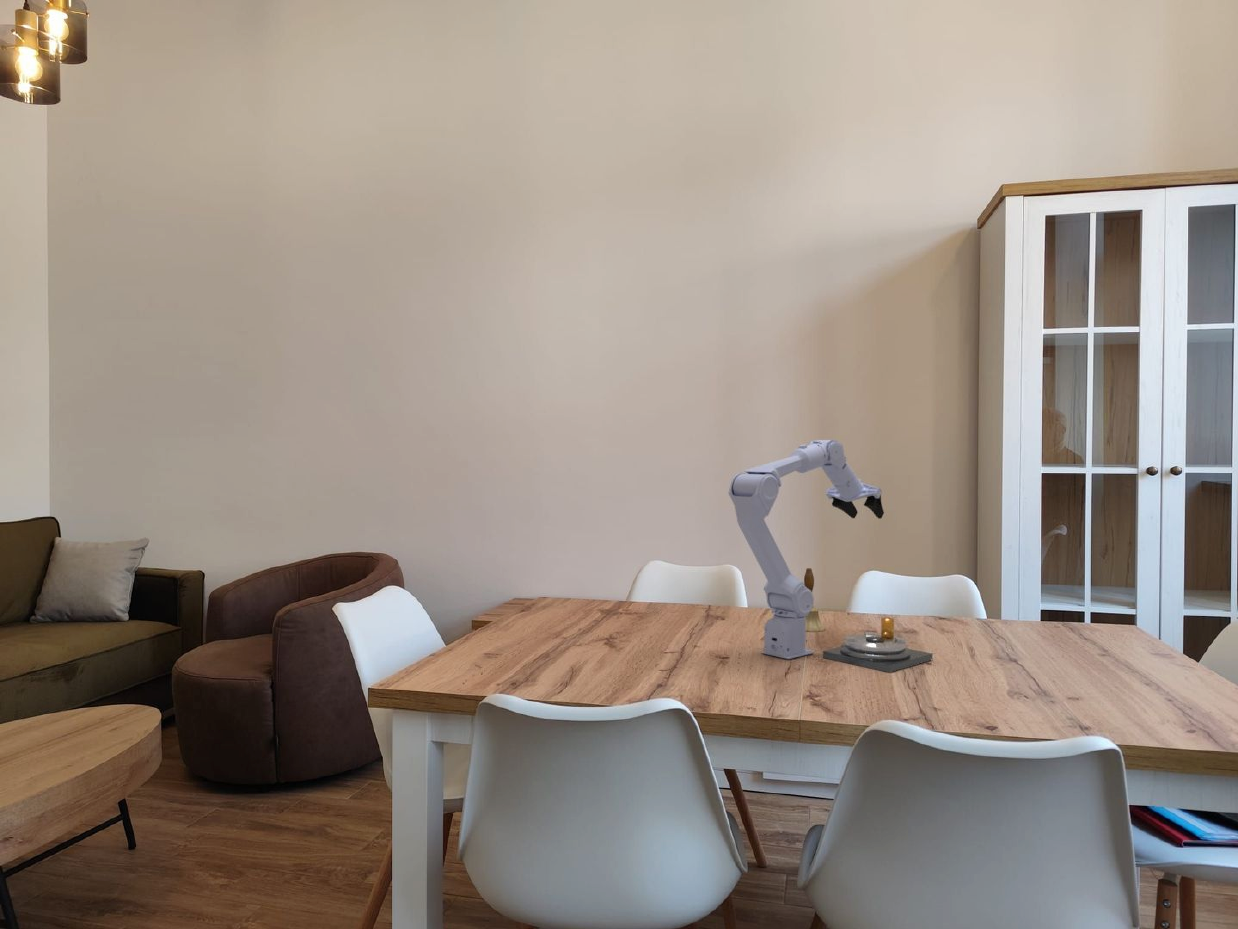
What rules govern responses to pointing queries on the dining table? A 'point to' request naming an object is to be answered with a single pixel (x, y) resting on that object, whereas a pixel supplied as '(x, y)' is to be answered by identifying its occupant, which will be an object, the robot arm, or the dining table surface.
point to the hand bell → (813, 617)
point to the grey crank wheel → (877, 640)
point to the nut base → (878, 658)
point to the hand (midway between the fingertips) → (868, 515)
